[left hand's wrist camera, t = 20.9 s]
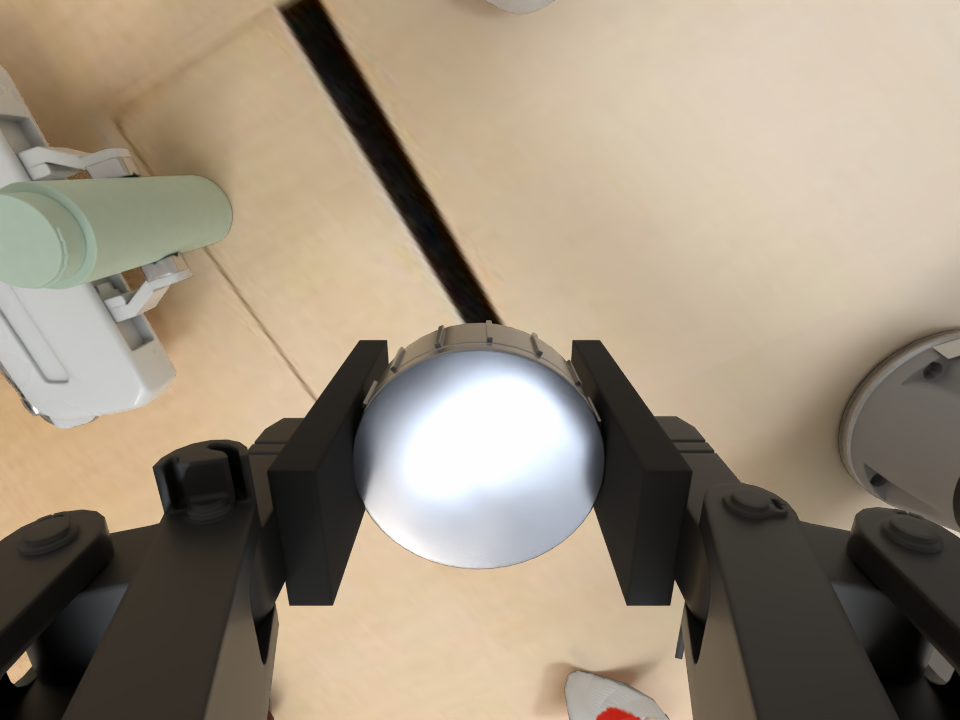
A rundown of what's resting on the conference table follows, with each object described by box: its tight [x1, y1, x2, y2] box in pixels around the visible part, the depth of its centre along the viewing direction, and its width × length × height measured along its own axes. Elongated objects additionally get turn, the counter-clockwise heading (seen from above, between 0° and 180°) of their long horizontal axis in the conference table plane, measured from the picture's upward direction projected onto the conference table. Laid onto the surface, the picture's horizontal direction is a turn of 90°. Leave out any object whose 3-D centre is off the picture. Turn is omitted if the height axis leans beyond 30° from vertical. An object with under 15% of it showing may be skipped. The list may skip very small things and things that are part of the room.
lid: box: [352, 320, 606, 569], centre depth 11 cm, size 5×5×2 cm
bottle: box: [0, 175, 232, 290], centre depth 28 cm, size 5×5×15 cm
